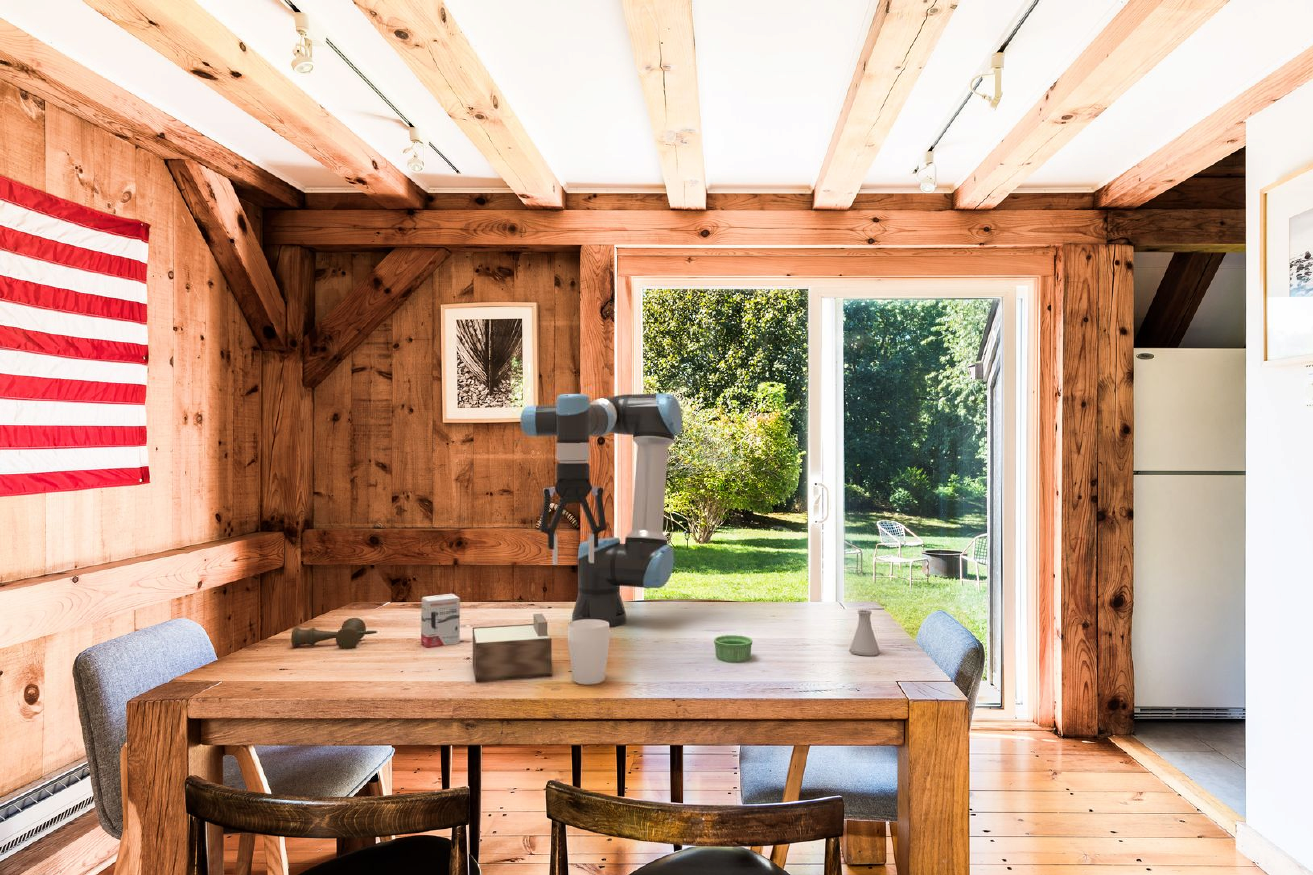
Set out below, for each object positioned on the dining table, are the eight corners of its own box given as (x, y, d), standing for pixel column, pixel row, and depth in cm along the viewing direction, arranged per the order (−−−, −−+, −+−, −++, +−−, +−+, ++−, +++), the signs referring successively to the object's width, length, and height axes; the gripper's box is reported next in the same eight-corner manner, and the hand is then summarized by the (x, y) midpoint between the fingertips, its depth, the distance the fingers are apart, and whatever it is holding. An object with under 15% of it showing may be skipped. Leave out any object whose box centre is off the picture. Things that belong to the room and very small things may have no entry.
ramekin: (727, 665, 184) (727, 646, 184) (706, 656, 192) (706, 637, 192) (760, 660, 188) (760, 641, 188) (738, 651, 196) (738, 633, 196)
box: (542, 658, 190) (542, 623, 190) (551, 676, 175) (551, 638, 175) (472, 663, 185) (472, 627, 185) (475, 682, 171) (475, 643, 171)
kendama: (297, 644, 205) (380, 638, 209) (287, 655, 196) (374, 649, 199) (296, 621, 205) (379, 615, 208) (286, 631, 195) (373, 625, 199)
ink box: (426, 648, 199) (426, 600, 199) (420, 644, 203) (420, 596, 203) (460, 643, 204) (460, 596, 204) (453, 639, 208) (453, 593, 208)
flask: (881, 650, 196) (881, 609, 196) (879, 658, 190) (879, 615, 190) (850, 647, 199) (850, 607, 199) (847, 655, 192) (847, 613, 192)
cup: (567, 674, 176) (567, 619, 176) (609, 673, 177) (609, 618, 177) (566, 687, 167) (566, 629, 167) (610, 686, 168) (610, 628, 168)
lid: (542, 628, 189) (542, 611, 189) (550, 641, 176) (550, 624, 176) (473, 632, 185) (473, 615, 185) (476, 646, 172) (476, 628, 172)
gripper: (613, 461, 190) (613, 558, 190) (526, 462, 185) (526, 562, 185) (620, 462, 183) (620, 563, 183) (529, 463, 178) (529, 567, 178)
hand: (573, 562), depth 184 cm, fingers open, 8 cm apart
